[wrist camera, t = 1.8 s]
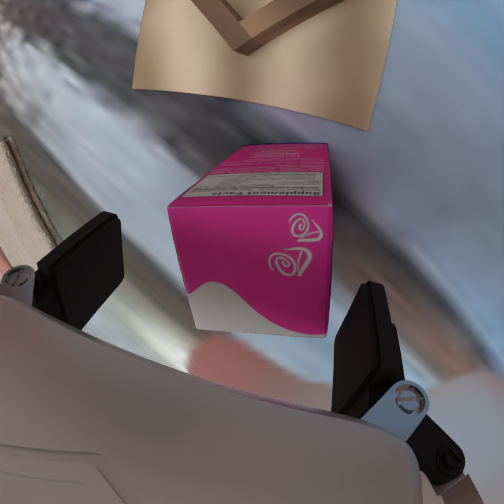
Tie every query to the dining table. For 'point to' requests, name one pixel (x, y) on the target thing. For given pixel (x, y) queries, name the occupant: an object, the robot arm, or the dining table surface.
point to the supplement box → (259, 241)
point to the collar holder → (270, 52)
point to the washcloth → (22, 213)
